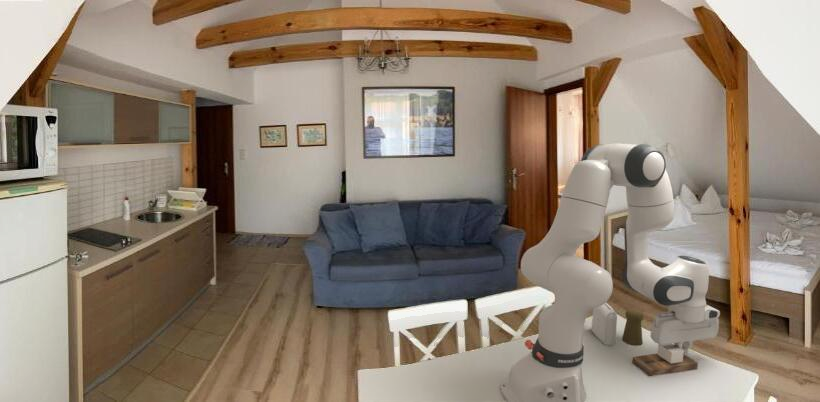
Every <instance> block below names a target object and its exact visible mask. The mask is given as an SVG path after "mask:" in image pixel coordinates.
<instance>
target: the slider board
mask: <svg viewBox="0 0 820 402" xmlns="http://www.w3.org/2000/svg"><path fill="white" fill-rule="evenodd" d="M632 364H633V365H634V366H635V367H637V368H638V369H639V370H641V371H642V372H643V373H644V374H646V375H647V376H649V377H656V376H661V375H663V376H664V375H667V374H674V373H681V372H688V371H694V370H695V371H696V370H698V365H699V363H698V362H697V361H695V360H694V359H692V358H691V357H689V356H688V355H687V354H683V362H678V363H669V362H668V361H666V360H665V359H663V358H662V357H661V356H659V355H658V354H657V353H651V354H650V353H649V354H644V355H636V356H632Z"/></svg>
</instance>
